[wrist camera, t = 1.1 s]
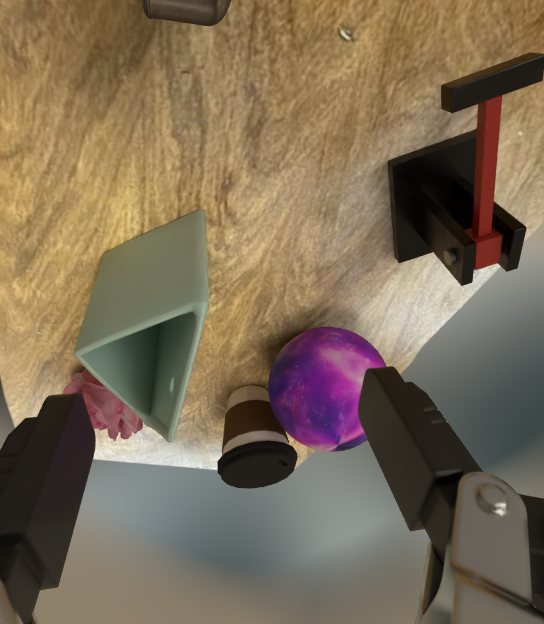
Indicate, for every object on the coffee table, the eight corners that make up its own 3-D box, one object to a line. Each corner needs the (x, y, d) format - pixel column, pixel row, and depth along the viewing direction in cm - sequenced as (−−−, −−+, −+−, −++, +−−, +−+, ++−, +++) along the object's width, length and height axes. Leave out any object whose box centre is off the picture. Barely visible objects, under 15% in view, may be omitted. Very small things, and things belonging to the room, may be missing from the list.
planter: (120, 180, 33) (65, 345, 19) (206, 210, 36) (214, 371, 22) (90, 310, 42) (38, 487, 28) (161, 325, 45) (146, 491, 31)
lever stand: (387, 160, 36) (442, 215, 28) (481, 127, 35) (564, 174, 27) (394, 257, 44) (438, 321, 36) (470, 232, 43) (532, 291, 35)
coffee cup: (262, 365, 54) (275, 442, 45) (295, 398, 61) (312, 471, 52) (199, 394, 56) (200, 473, 47) (237, 423, 63) (244, 497, 54)
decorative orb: (244, 327, 48) (259, 433, 37) (357, 286, 46) (407, 386, 35) (280, 388, 58) (300, 485, 47) (373, 356, 56) (417, 450, 45)
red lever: (437, 84, 25) (455, 89, 24) (526, 51, 25) (551, 54, 23) (440, 263, 35) (453, 277, 33) (505, 242, 34) (521, 255, 32)
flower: (88, 380, 55) (28, 417, 46) (116, 334, 51) (56, 365, 42) (146, 431, 54) (97, 479, 45) (179, 389, 50) (132, 433, 41)
